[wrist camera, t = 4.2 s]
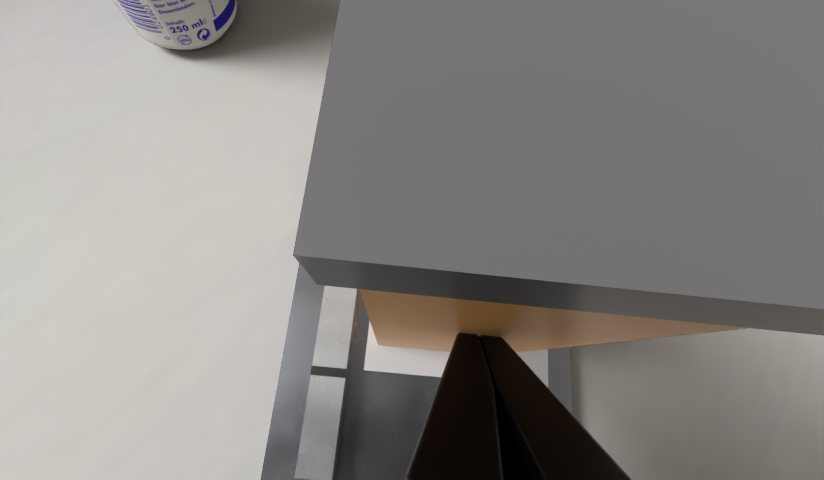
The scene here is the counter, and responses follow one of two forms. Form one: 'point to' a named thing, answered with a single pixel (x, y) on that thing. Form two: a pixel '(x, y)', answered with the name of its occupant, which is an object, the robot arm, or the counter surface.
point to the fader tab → (569, 171)
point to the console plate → (355, 394)
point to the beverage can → (179, 21)
